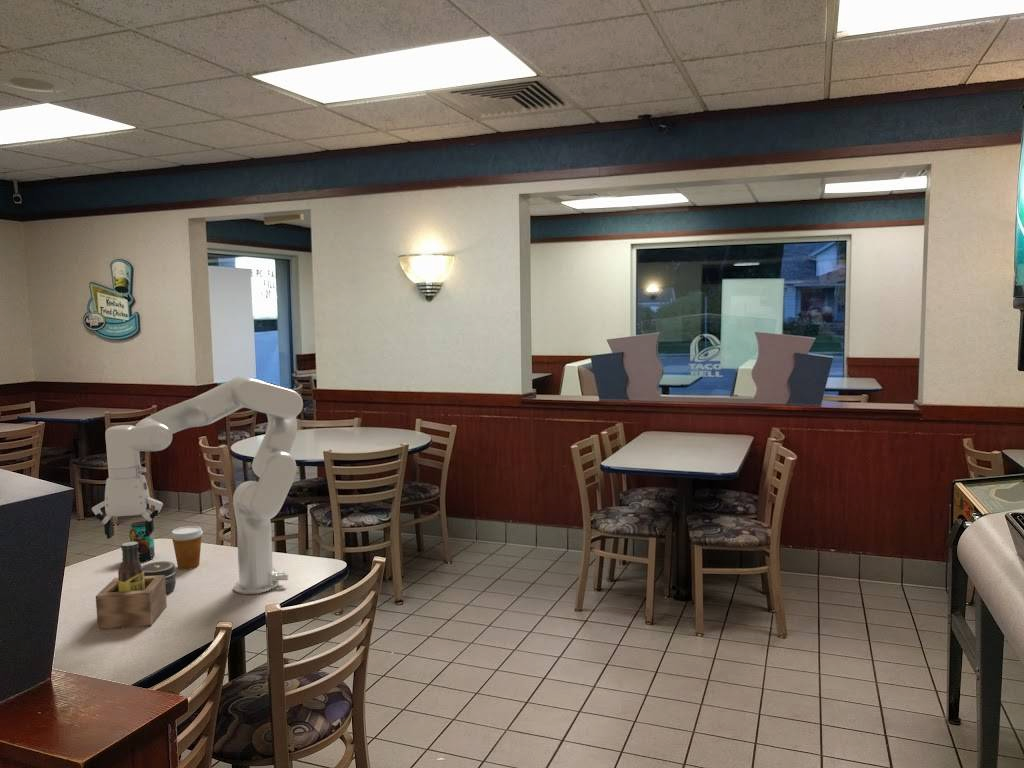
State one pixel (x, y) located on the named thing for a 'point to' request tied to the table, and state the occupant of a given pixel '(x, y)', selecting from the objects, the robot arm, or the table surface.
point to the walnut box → (131, 604)
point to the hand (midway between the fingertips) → (130, 535)
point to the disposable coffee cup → (187, 546)
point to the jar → (162, 572)
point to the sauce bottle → (130, 569)
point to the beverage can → (142, 541)
